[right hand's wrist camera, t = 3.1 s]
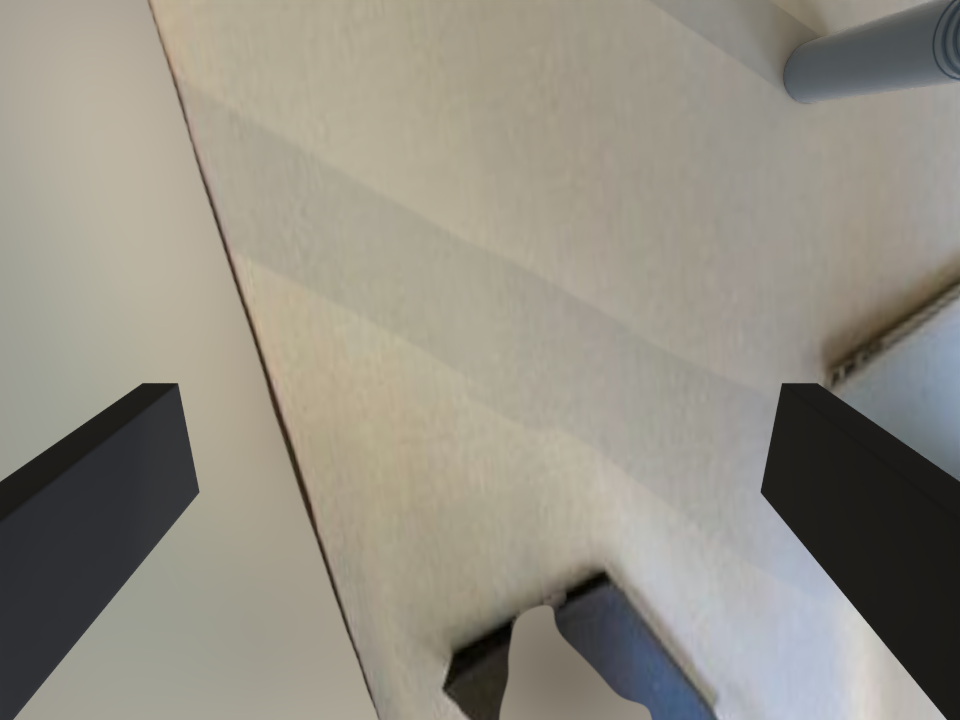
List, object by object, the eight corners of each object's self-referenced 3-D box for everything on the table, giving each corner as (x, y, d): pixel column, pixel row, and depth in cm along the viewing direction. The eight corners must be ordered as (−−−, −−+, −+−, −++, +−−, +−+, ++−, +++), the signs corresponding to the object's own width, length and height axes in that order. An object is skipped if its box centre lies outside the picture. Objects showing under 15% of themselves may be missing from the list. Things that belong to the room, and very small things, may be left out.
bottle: (833, 104, 48) (1086, 72, 28) (777, 101, 48) (990, 67, 28) (848, 40, 46) (1128, -42, 26) (790, 37, 46) (1027, -48, 26)
